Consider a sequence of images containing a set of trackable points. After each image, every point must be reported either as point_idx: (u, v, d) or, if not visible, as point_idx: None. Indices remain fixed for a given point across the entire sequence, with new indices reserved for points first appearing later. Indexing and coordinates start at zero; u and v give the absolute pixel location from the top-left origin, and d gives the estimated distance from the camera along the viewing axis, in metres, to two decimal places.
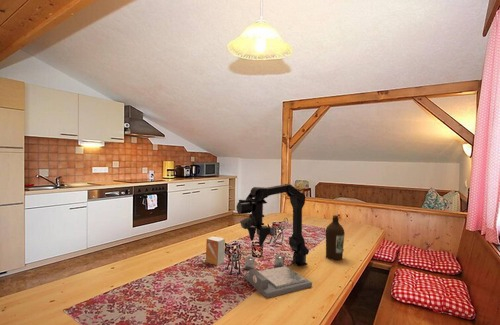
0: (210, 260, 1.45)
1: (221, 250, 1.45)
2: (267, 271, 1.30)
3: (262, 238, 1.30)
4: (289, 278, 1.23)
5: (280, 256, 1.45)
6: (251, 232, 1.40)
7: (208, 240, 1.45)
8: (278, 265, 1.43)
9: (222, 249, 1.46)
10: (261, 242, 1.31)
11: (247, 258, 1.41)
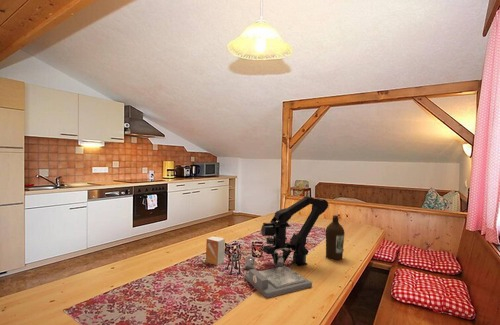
0: (210, 260, 1.45)
1: (221, 250, 1.45)
2: (267, 271, 1.30)
3: (273, 257, 1.43)
4: (289, 278, 1.23)
5: (280, 256, 1.45)
6: (283, 254, 1.47)
7: (208, 240, 1.45)
8: (278, 265, 1.43)
9: (222, 249, 1.46)
10: (274, 260, 1.43)
11: (247, 258, 1.41)
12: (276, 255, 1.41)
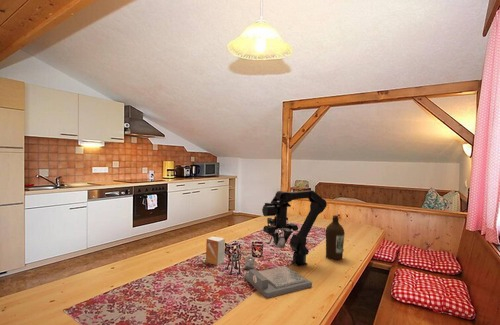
0: (210, 260, 1.45)
1: (221, 250, 1.45)
2: (267, 271, 1.30)
3: (274, 237, 1.41)
4: (289, 278, 1.23)
5: (281, 236, 1.43)
6: (284, 235, 1.45)
7: (208, 240, 1.45)
8: (279, 245, 1.41)
9: (222, 249, 1.46)
10: (274, 241, 1.42)
11: (247, 258, 1.41)
12: (277, 235, 1.39)
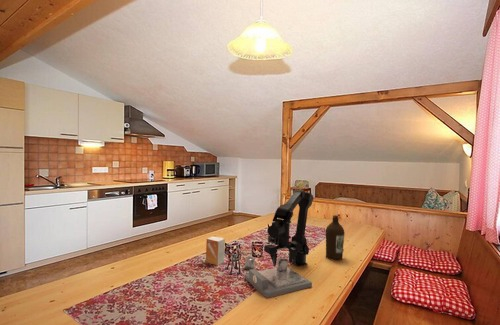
0: (210, 260, 1.45)
1: (221, 250, 1.45)
2: (267, 271, 1.30)
3: (272, 258, 1.30)
4: (289, 278, 1.23)
5: (283, 259, 1.33)
6: (290, 254, 1.35)
7: (208, 240, 1.45)
8: (281, 269, 1.30)
9: (222, 249, 1.46)
10: (273, 262, 1.30)
11: (247, 258, 1.41)
12: (275, 256, 1.27)
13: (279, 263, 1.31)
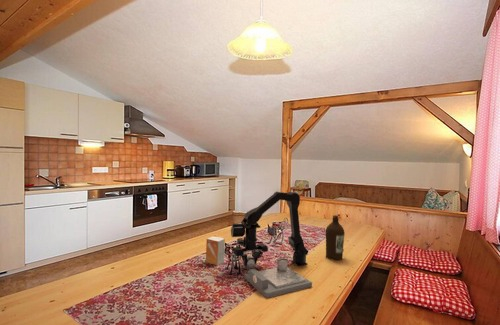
0: (210, 260, 1.45)
1: (221, 250, 1.45)
2: (267, 271, 1.30)
3: (243, 259, 1.39)
4: (289, 278, 1.23)
5: (283, 259, 1.33)
6: (254, 256, 1.43)
7: (208, 240, 1.45)
8: (281, 269, 1.30)
9: (222, 249, 1.46)
10: (244, 262, 1.40)
11: (247, 258, 1.41)
12: (245, 257, 1.37)
13: (279, 263, 1.31)
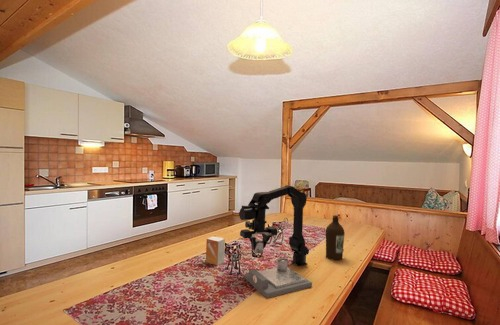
0: (210, 260, 1.45)
1: (221, 250, 1.45)
2: (267, 271, 1.30)
3: (252, 242, 1.33)
4: (289, 278, 1.23)
5: (283, 259, 1.33)
6: (263, 240, 1.36)
7: (208, 240, 1.45)
8: (281, 269, 1.30)
9: (222, 249, 1.46)
10: (252, 246, 1.33)
11: (256, 241, 1.34)
12: (254, 239, 1.30)
13: (279, 263, 1.31)
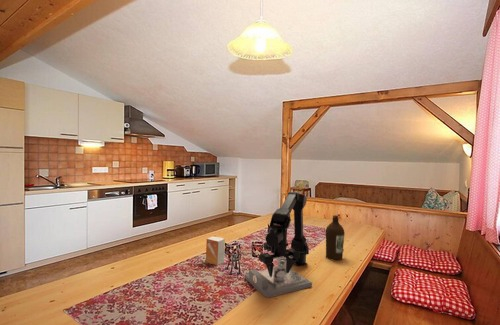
0: (210, 260, 1.45)
1: (221, 250, 1.45)
2: (267, 271, 1.30)
3: (268, 268, 1.18)
4: (289, 278, 1.23)
5: (283, 259, 1.33)
6: (287, 263, 1.23)
7: (208, 240, 1.45)
8: None
9: (222, 249, 1.46)
10: (269, 272, 1.18)
11: (276, 269, 1.20)
12: (271, 265, 1.16)
13: (279, 263, 1.31)
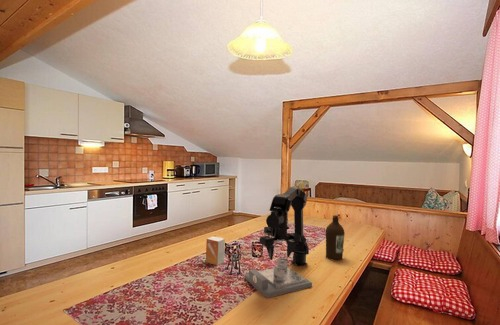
0: (210, 260, 1.45)
1: (221, 250, 1.45)
2: (267, 271, 1.30)
3: (269, 251, 1.18)
4: (289, 278, 1.23)
5: (283, 259, 1.33)
6: (288, 247, 1.23)
7: (208, 240, 1.45)
8: None
9: (222, 249, 1.46)
10: (269, 255, 1.18)
11: (276, 269, 1.20)
12: (272, 248, 1.15)
13: (279, 263, 1.31)
